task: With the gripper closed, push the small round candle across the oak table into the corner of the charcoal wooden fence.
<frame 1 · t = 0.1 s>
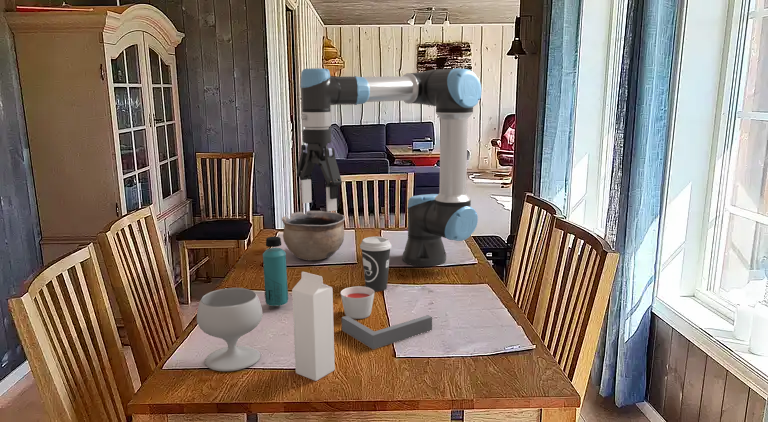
hand: (318, 206, 158), 28 cm above the table, tool pointing down, fingers open, 13 cm apart
chalice: (233, 360, 130), on the table
coffee cup: (376, 288, 175), on the table
milk: (315, 372, 124), on the table
beverage bottle: (277, 307, 161), on the table
ceramic bowl: (315, 258, 207), on the table
candle: (358, 315, 155), on the table
corner fence: (401, 338, 140), on the table
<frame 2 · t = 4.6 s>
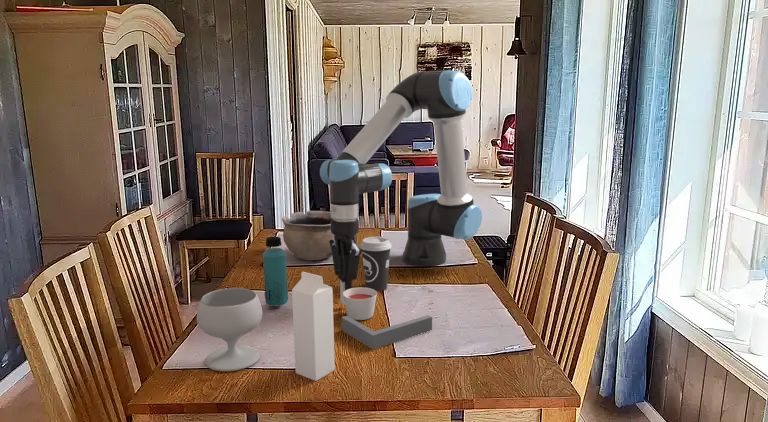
hand: (346, 302, 159), 2 cm above the table, tool pointing down, fingers closed
candle: (360, 316, 154), on the table, touching gripper
everything else where it was.
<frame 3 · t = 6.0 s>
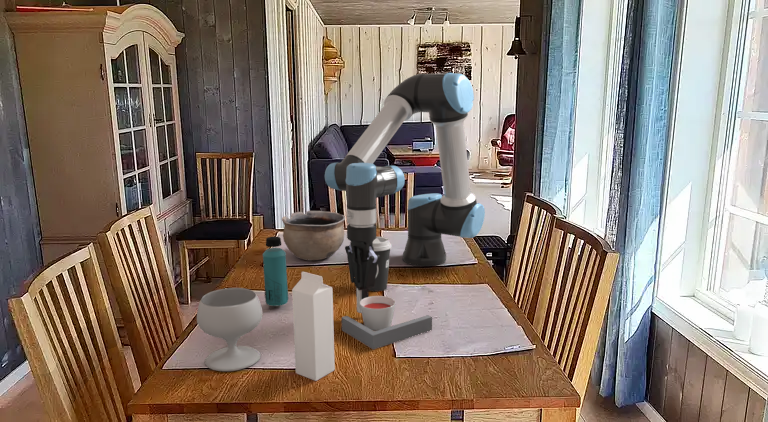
hand: (362, 311, 153), 2 cm above the table, tool pointing down, fingers closed
candle: (377, 326, 148), on the table, touching gripper
everything else where it was.
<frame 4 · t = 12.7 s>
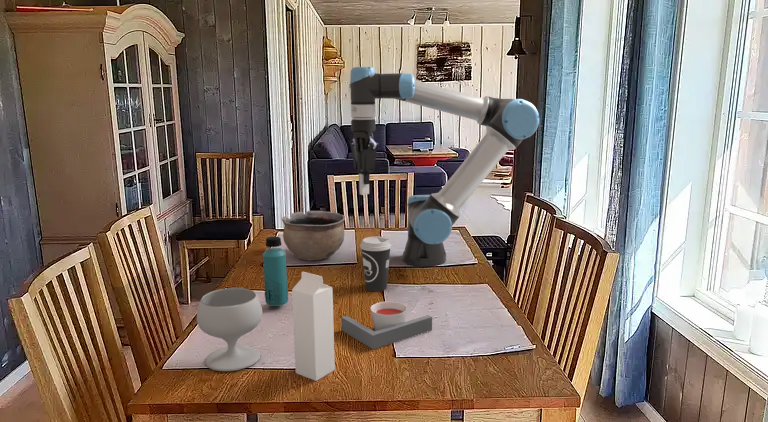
hand: (364, 193, 183), 26 cm above the table, tool pointing down, fingers closed
candle: (388, 332, 144), on the table
everything else where it was.
at the end: candle inside the target area (0.3 cm from its centre), on the table; candle moved 14.0 cm from its start; candle tilted 0° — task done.
